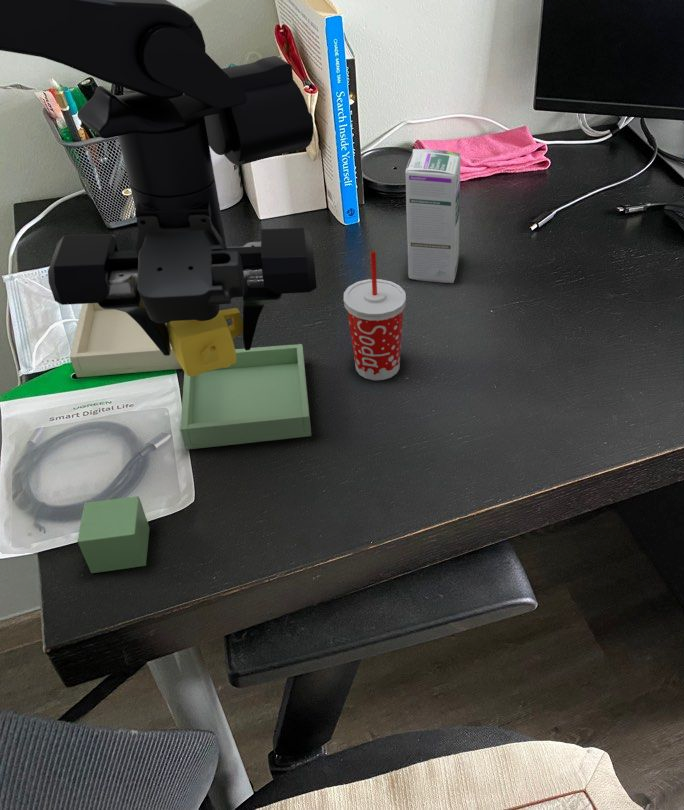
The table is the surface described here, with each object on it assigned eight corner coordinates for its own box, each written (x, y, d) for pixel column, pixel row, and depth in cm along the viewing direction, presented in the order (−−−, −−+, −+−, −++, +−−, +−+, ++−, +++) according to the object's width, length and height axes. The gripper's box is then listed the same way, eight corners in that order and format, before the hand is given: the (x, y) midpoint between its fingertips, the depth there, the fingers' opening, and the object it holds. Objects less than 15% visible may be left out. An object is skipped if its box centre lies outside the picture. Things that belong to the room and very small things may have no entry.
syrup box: (454, 284, 100) (458, 173, 90) (406, 279, 99) (404, 168, 90) (459, 259, 104) (463, 151, 94) (412, 255, 104) (412, 146, 94)
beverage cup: (336, 372, 85) (326, 256, 76) (369, 342, 90) (363, 228, 80) (387, 392, 84) (383, 276, 74) (417, 360, 88) (417, 247, 79)
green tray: (185, 450, 75) (180, 429, 73) (190, 373, 83) (185, 352, 81) (311, 436, 78) (309, 416, 76) (304, 363, 86) (302, 343, 84)
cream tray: (76, 377, 81) (69, 357, 79) (91, 312, 89) (84, 292, 87) (187, 368, 83) (182, 348, 82) (191, 305, 91) (187, 286, 90)
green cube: (90, 574, 64) (76, 541, 62) (97, 534, 67) (83, 502, 64) (146, 566, 65) (134, 534, 63) (149, 527, 68) (139, 495, 65)
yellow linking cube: (263, 376, 69) (255, 326, 65) (192, 396, 66) (180, 345, 63) (232, 325, 74) (223, 276, 70) (165, 342, 71) (152, 292, 67)
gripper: (0, 241, 51) (69, 424, 61) (311, 231, 55) (327, 403, 66) (35, 161, 59) (91, 335, 69) (304, 158, 63) (319, 322, 74)
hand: (208, 350), depth 69 cm, fingers closed on yellow linking cube, 6 cm apart
